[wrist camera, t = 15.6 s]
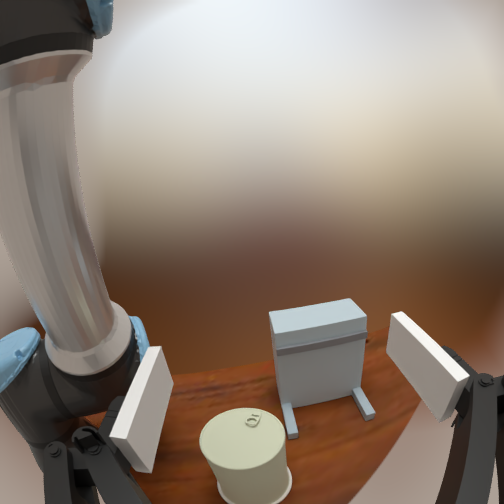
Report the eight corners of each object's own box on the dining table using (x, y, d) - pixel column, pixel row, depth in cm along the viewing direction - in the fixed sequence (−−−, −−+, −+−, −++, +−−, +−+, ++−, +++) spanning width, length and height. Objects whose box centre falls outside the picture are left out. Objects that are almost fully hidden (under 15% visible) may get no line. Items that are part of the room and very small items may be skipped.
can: (299, 464, 29) (298, 413, 26) (272, 516, 21) (262, 479, 18) (240, 449, 33) (224, 397, 30) (207, 493, 25) (180, 447, 22)
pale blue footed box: (373, 418, 35) (388, 338, 31) (288, 439, 35) (282, 362, 31) (346, 370, 48) (349, 298, 45) (276, 384, 48) (268, 312, 44)
